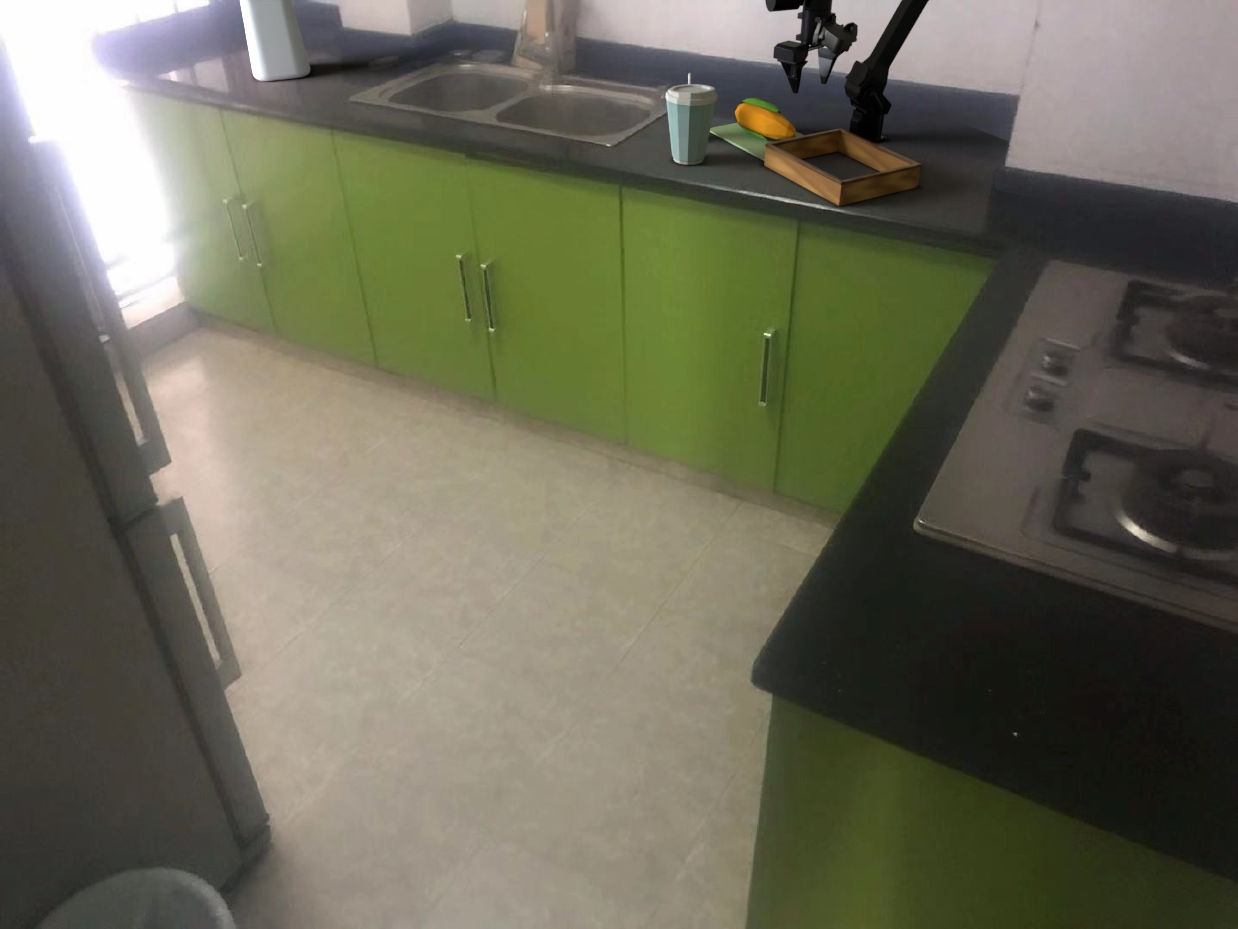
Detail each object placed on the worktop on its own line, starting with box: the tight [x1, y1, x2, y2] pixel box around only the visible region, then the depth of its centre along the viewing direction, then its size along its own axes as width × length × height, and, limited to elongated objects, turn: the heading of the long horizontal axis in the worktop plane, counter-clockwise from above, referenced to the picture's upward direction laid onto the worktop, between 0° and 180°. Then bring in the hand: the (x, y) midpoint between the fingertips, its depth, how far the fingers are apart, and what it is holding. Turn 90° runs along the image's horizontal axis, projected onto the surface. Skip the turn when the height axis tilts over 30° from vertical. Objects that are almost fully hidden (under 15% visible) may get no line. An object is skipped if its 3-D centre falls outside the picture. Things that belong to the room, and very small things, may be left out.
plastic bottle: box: [239, 0, 311, 82], centre depth 253 cm, size 15×15×28 cm
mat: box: [710, 122, 806, 162], centre depth 209 cm, size 16×24×1 cm, turn 27°
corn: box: [734, 97, 797, 140], centre depth 207 cm, size 7×8×20 cm
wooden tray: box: [763, 127, 922, 207], centre depth 190 cm, size 19×25×5 cm
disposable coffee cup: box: [664, 83, 719, 166], centre depth 196 cm, size 11×11×15 cm
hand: (809, 88), depth 199 cm, fingers open, 9 cm apart
